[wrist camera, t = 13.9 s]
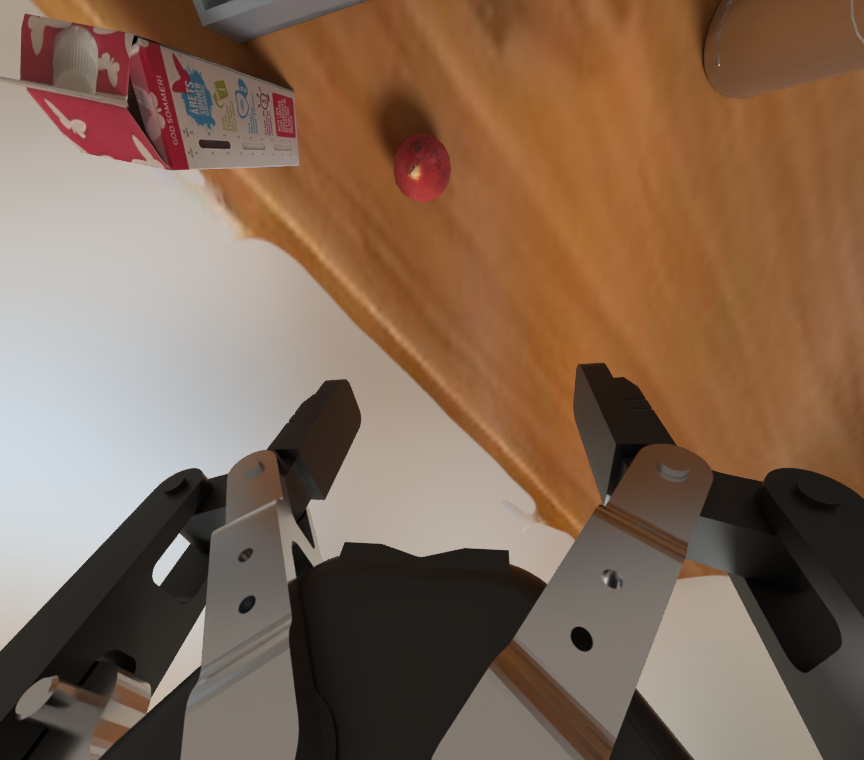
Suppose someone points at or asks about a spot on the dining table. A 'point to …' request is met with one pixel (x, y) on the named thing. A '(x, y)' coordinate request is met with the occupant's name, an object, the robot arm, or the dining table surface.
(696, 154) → the dining table surface
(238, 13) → the big crate
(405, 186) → the onion
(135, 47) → the milk carton
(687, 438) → the dining table surface
